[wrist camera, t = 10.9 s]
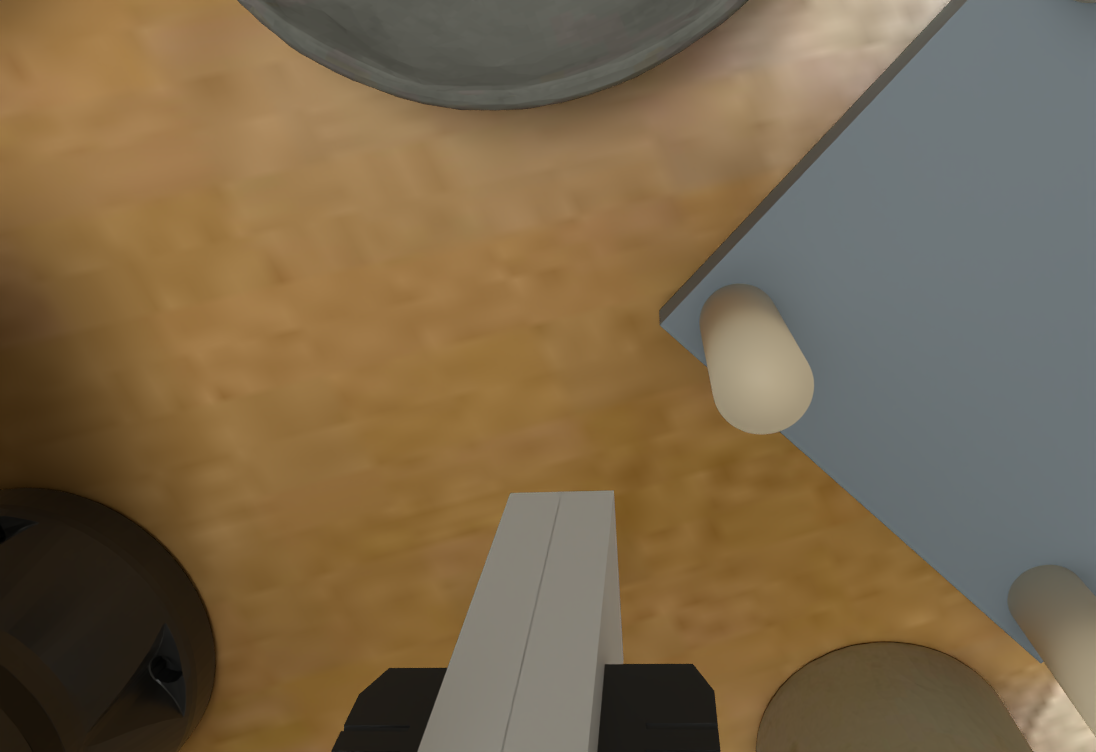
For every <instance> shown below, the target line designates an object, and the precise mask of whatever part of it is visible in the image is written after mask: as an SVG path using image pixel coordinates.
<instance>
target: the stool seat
mask: <svg viewBox="0 0 1096 752" xmlns="http://www.w3.org/2000/svg"><path fill="white" fill-rule="evenodd" d="M659 316H660V326H661V327H662V328H663V329H665V330H666V331H667V332H668V333H669V334H670V335H671V336H672V337H674V338H675V339H676V340H677V341H678V342H679V343H680V344H681V345H683V346H684V347H685V348H686V349H687V350H688V351H689V352H691V353H692V354H693V355H694V356H695V357H696V358H697V359H698V360H700V361H701V362H702V363H703V364H704V365H705V366H706V367H707V368H708V372H709V378H710V383H711V388H712V393H713V397H714V401H715V404H716V407H717V409H718V410H719V412H720V414H721V415H722V416H723V417H724V418H725V419H726V420H727V422H729V423H730V424H731V425H733V426H734V427H736V428H738V429H740V430H742V431H744V432H748V433H752V434H771V433H776V432H779V431H780V432H781V433H782V434H783V435H784V436H785V437H786V438H787V439H789V440H790V441H791V442H792V443H793V444H794V445H795V446H796V447H798V448H799V449H800V450H801V451H802V452H803V453H804V454H805V455H807V456H808V457H809V458H810V459H811V460H812V461H813V462H814V463H816V464H817V465H818V466H819V467H820V468H821V469H822V470H824V471H825V472H826V473H827V474H828V475H829V476H830V477H831V478H833V479H834V480H835V481H836V482H837V483H838V484H839V485H840V486H842V487H843V488H844V489H845V490H846V491H847V492H848V493H849V494H851V495H852V496H853V497H854V498H855V499H856V500H857V501H858V502H860V503H861V504H862V505H863V506H864V507H865V508H866V509H867V510H869V511H870V512H871V513H872V514H873V515H874V516H875V517H876V518H878V519H879V520H880V521H881V522H882V523H883V524H884V525H885V526H887V527H888V528H889V529H890V530H891V531H892V532H893V533H895V534H896V535H897V536H898V537H899V538H900V539H901V540H902V541H904V542H905V543H906V544H907V545H908V546H909V547H910V548H911V549H913V550H914V551H915V552H916V553H917V554H918V555H919V556H920V557H922V558H923V559H924V560H925V561H926V562H927V563H928V564H929V565H931V566H932V567H933V568H934V569H935V570H936V571H937V572H938V573H940V574H941V575H942V576H943V577H944V578H945V579H946V580H947V581H949V582H950V583H951V584H952V585H953V586H954V587H955V588H957V589H958V590H959V591H960V592H961V593H962V594H963V595H964V596H966V597H967V598H968V599H969V600H970V601H971V602H972V603H973V604H975V605H976V606H977V607H978V608H979V609H980V610H981V611H982V612H984V613H985V614H986V615H987V616H988V617H989V618H990V619H991V620H993V621H994V622H995V623H996V624H997V625H998V626H999V627H1000V628H1002V629H1003V630H1004V631H1005V632H1006V633H1007V634H1008V635H1009V636H1011V637H1012V638H1013V639H1014V640H1015V641H1016V642H1017V643H1018V644H1020V645H1021V646H1022V647H1023V648H1024V649H1025V650H1026V651H1028V652H1029V653H1030V654H1031V655H1032V656H1033V657H1034V658H1035V659H1037V660H1038V661H1039V662H1040V663H1042V662H1044V663H1045V664H1046V666H1047V667H1048V669H1049V670H1050V671H1051V673H1052V674H1053V676H1054V677H1055V679H1056V680H1057V682H1058V683H1059V685H1060V686H1061V687H1062V689H1063V690H1064V692H1065V693H1066V695H1067V696H1068V698H1069V699H1070V701H1071V702H1072V703H1073V705H1074V706H1075V708H1076V709H1077V711H1078V712H1079V714H1080V715H1081V717H1082V718H1083V719H1084V721H1085V722H1086V724H1087V725H1088V727H1089V728H1090V730H1091V731H1092V732H1093V734H1094V735H1095V737H1096V0H951V1H950V2H949V3H948V5H947V6H946V7H945V8H944V9H943V10H942V11H941V12H940V13H939V14H938V15H937V16H936V17H935V18H934V19H933V20H932V22H931V23H930V24H929V25H928V26H927V27H926V28H925V29H924V30H923V31H922V32H921V33H920V34H919V35H918V36H917V37H916V39H915V40H914V41H913V42H912V43H911V44H910V45H909V46H908V47H907V48H906V49H905V50H904V51H903V52H902V53H901V54H900V56H899V57H898V58H897V59H896V60H895V61H894V62H893V63H892V64H891V65H890V66H889V67H888V68H887V69H886V70H885V71H884V73H883V74H882V75H881V76H880V77H879V78H878V79H877V80H876V81H875V82H874V83H873V84H872V85H871V86H870V87H869V88H868V90H867V91H866V92H865V93H864V94H863V95H862V96H861V97H860V98H859V99H858V100H857V101H856V102H855V103H854V104H853V105H852V107H851V108H850V109H849V110H848V111H847V112H846V113H845V114H844V115H843V116H842V117H841V118H840V119H839V120H838V121H837V122H836V124H835V125H834V126H833V127H832V128H831V129H830V130H829V131H828V132H827V133H826V134H825V135H824V136H823V137H822V138H821V139H820V140H819V142H818V143H817V144H816V145H815V146H814V147H813V148H812V149H811V150H810V151H809V152H808V153H807V154H806V155H805V156H804V157H803V159H802V160H801V161H800V162H799V163H798V164H797V165H796V166H795V167H794V168H793V169H792V170H791V171H790V172H789V173H788V174H787V176H786V177H785V178H784V179H783V180H782V181H781V182H780V183H779V184H778V185H777V186H776V187H775V188H774V189H773V190H772V191H771V193H770V194H769V195H768V196H767V197H766V198H765V199H764V200H763V201H762V202H761V203H760V204H759V205H758V206H757V207H756V208H755V210H754V211H753V212H752V213H751V214H750V215H749V216H748V217H747V218H746V219H745V220H744V221H743V222H742V223H741V224H740V225H739V227H738V228H737V229H736V230H735V231H734V232H733V233H732V234H731V235H730V236H729V237H728V238H727V239H726V240H725V241H724V242H723V244H722V245H721V246H720V247H719V248H718V249H717V250H716V251H715V252H714V253H713V254H712V255H711V256H710V257H709V258H708V259H707V261H706V262H705V263H704V264H703V265H702V266H701V267H700V268H699V269H698V270H697V271H696V272H695V273H694V274H693V275H692V276H691V278H690V279H689V280H688V281H687V282H686V283H685V284H684V285H683V286H682V287H681V288H680V289H679V290H678V291H677V292H676V293H675V295H674V296H673V297H672V298H671V299H670V300H669V301H668V302H667V303H666V304H665V305H664V306H663V307H662V308H661V309H660V310H659Z"/></svg>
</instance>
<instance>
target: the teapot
mask: <svg viewBox="0 0 1096 752" xmlns="http://www.w3.org/2000/svg"><path fill="white" fill-rule="evenodd" d="M756 752H1033V751H1032V749H1031V747H1030V746H1029V744H1028V743H1027V741H1026V739H1025V738H1024V736H1023V735H1022V733H1021V732H1020V730H1019V728H1018V727H1017V725H1016V724H1015V722H1014V720H1013V719H1012V717H1011V716H1010V714H1009V712H1008V711H1007V709H1006V707H1005V706H1004V704H1003V703H1002V701H1001V699H1000V698H999V696H998V695H997V694H996V692H995V691H994V690H993V688H992V687H991V686H990V685H989V684H988V683H987V682H985V681H984V680H983V679H982V678H981V677H980V676H979V675H978V674H977V673H976V672H974V671H973V670H972V669H970V668H969V667H967V666H966V665H964V664H962V663H961V662H959V661H958V660H956V659H954V658H953V657H950V656H948V655H946V654H944V653H941V652H939V651H936V650H933V649H929V648H926V647H922V646H917V645H912V644H906V643H895V642H876V643H868V644H861V645H854V646H849V647H846V648H843V649H840V650H837V651H834V652H831V653H829V654H827V655H825V656H823V657H821V658H819V659H817V660H815V661H813V662H811V663H809V664H807V665H806V666H804V667H803V668H802V669H800V670H799V671H798V672H796V673H795V674H794V675H793V676H791V677H790V678H789V679H788V680H787V681H786V682H785V684H784V685H783V686H782V687H781V688H780V689H779V690H778V692H777V693H776V695H775V696H774V698H773V699H772V701H771V702H770V704H769V706H768V707H767V709H766V711H765V713H764V716H763V718H762V721H761V724H760V727H759V731H758V736H757V746H756Z"/></svg>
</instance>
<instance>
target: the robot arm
mask: <svg viewBox="0 0 1096 752" xmlns="http://www.w3.org/2000/svg"><path fill="white" fill-rule="evenodd" d="M214 675H215V651H214V643H213V637H212V632H211V628H210V625H209V621H208V618H207V615H206V612H205V610H204V607H203V605H202V603H201V600H200V598H199V596H198V595H197V593H196V591H195V589H194V587H193V585H192V584H191V582H190V580H189V579H188V577H187V576H186V574H185V573H184V572H183V570H182V569H181V567H180V566H179V565H178V564H177V562H176V561H175V560H174V559H173V558H172V556H171V555H170V554H169V553H168V552H167V551H166V550H165V549H164V548H163V547H162V546H161V545H160V544H159V543H158V542H157V541H156V540H155V539H154V538H152V537H151V536H150V535H149V534H148V533H147V532H145V531H144V530H143V529H141V528H140V527H139V526H137V525H136V524H135V523H133V522H132V521H130V520H129V519H127V518H125V517H124V516H122V515H120V514H119V513H117V512H115V511H113V510H111V509H109V508H107V507H105V506H103V505H101V504H99V503H96V502H94V501H91V500H89V499H86V498H83V497H80V496H77V495H73V494H69V493H66V492H61V491H55V490H49V489H41V488H14V489H4V490H0V752H178V751H179V750H180V748H181V747H182V746H183V744H184V743H185V741H186V740H187V739H188V737H189V736H190V735H191V733H192V732H193V730H194V729H195V728H196V726H197V725H198V723H199V721H200V720H201V718H202V716H203V714H204V712H205V710H206V707H207V705H208V702H209V699H210V696H211V692H212V688H213V682H214ZM332 752H720V743H719V733H718V724H717V714H716V704H715V694H714V690H713V689H712V688H711V686H710V685H709V684H708V683H707V681H706V680H705V679H704V677H703V676H702V675H701V674H700V672H699V671H698V670H697V669H696V667H695V666H694V665H693V664H623V643H622V625H621V608H620V590H619V573H618V555H617V538H616V520H615V502H614V490H612V491H573V492H534V493H510V496H509V498H508V501H507V504H506V507H505V509H504V512H503V515H502V518H501V521H500V523H499V526H498V529H497V532H496V535H495V537H494V540H493V543H492V546H491V548H490V551H489V554H488V557H487V560H486V562H485V565H484V568H483V571H482V573H481V576H480V579H479V582H478V585H477V587H476V590H475V593H474V596H473V599H472V601H471V604H470V607H469V610H468V612H467V615H466V618H465V621H464V624H463V626H462V629H461V632H460V635H459V637H458V640H457V643H456V646H455V649H454V651H453V654H452V657H451V660H450V663H449V665H448V668H389V669H388V670H387V671H385V672H384V673H383V674H382V675H381V676H380V677H379V678H377V679H376V680H375V681H374V682H373V683H372V684H371V685H369V686H368V687H367V688H366V689H365V690H364V691H363V692H361V693H360V694H359V696H358V698H357V700H356V702H355V704H354V706H353V708H352V710H351V712H350V714H349V716H348V718H347V720H346V722H345V724H344V731H341V732H340V735H339V737H338V739H337V741H336V743H335V745H334V747H333V749H332Z"/></svg>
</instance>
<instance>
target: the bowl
mask: <svg viewBox="0 0 1096 752" xmlns="http://www.w3.org/2000/svg"><path fill="white" fill-rule="evenodd" d="M238 1H239V3H240V4H242V5H243V6H244V7H245V8H246V9H247V10H248V11H249V12H250V13H251V14H253V15H254V16H255V17H256V18H257V19H258V20H259V21H260V22H261V23H262V24H263V25H264V26H266V27H267V28H268V29H269V30H271V31H272V32H273V33H275V34H276V35H277V36H278V37H280V38H281V39H282V40H283V41H284V42H285V43H287V44H288V45H289V46H290V47H292V48H293V49H295V50H296V51H298V52H299V53H301V54H303V55H304V56H306V57H308V58H310V59H312V60H314V61H315V62H317V63H319V64H321V65H323V66H325V67H326V68H328V69H330V70H332V71H334V72H336V73H338V74H340V75H342V76H345V77H347V78H349V79H351V80H354V81H356V82H359V83H362V84H364V85H367V86H370V87H372V88H375V89H378V90H380V91H383V92H386V93H388V94H391V95H394V96H396V97H399V98H403V99H407V100H411V101H415V102H419V103H422V104H427V105H433V106H440V107H446V108H452V109H459V110H514V109H528V108H534V107H540V106H545V105H551V104H557V103H562V102H566V101H569V100H573V99H577V98H580V97H583V96H586V95H589V94H592V93H595V92H598V91H601V90H604V89H607V88H610V87H612V86H615V85H617V84H620V83H622V82H625V81H627V80H630V79H632V78H635V77H637V76H638V75H640V74H642V73H644V72H646V71H648V70H650V69H652V68H654V67H655V66H657V65H659V64H661V63H662V62H664V61H666V60H667V59H669V58H671V57H672V56H674V55H676V54H677V53H679V52H681V51H682V50H684V49H685V48H687V47H688V46H690V45H691V44H692V43H694V42H695V41H697V40H698V39H700V38H701V37H703V36H704V35H706V34H707V33H709V32H710V31H712V30H713V29H715V28H716V27H718V26H719V25H721V24H722V23H723V22H724V21H725V20H727V19H728V18H729V17H730V16H731V15H733V14H734V13H735V12H736V11H737V10H739V9H740V8H741V7H742V6H743V5H744V4H745V3H746V2H747V1H748V0H238Z"/></svg>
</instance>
